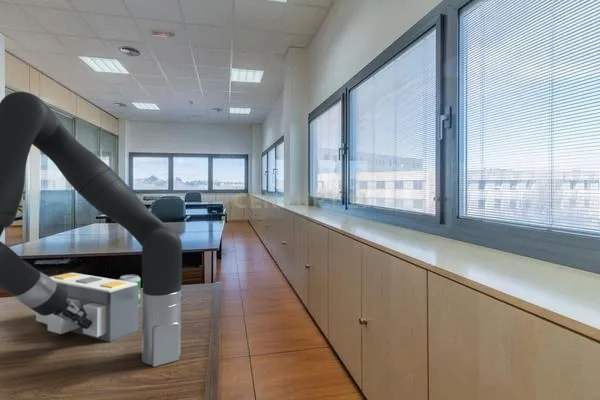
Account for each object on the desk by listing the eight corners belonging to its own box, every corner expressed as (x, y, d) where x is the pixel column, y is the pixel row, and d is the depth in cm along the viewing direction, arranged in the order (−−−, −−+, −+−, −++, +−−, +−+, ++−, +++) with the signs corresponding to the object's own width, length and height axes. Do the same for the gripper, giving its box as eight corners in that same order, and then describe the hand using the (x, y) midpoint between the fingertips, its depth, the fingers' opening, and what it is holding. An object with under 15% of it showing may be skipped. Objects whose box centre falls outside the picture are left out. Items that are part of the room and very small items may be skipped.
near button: (97, 337, 95) (97, 308, 95) (83, 333, 97) (83, 305, 97) (125, 325, 103) (125, 299, 103) (111, 322, 105) (111, 296, 105)
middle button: (60, 334, 96) (60, 305, 96) (47, 330, 99) (47, 302, 99) (91, 323, 105) (91, 297, 105) (78, 320, 107) (78, 294, 107)
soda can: (133, 313, 120) (134, 279, 120) (112, 312, 120) (113, 278, 120) (144, 306, 127) (144, 274, 127) (124, 305, 127) (124, 273, 127)
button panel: (110, 342, 96) (110, 289, 96) (40, 323, 109) (41, 277, 109) (138, 330, 105) (138, 282, 105) (70, 314, 118) (71, 271, 118)
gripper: (69, 283, 84) (113, 316, 95) (36, 277, 89) (82, 309, 100) (45, 311, 79) (95, 343, 90) (12, 303, 84) (63, 334, 96)
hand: (88, 325), depth 95 cm, fingers closed
